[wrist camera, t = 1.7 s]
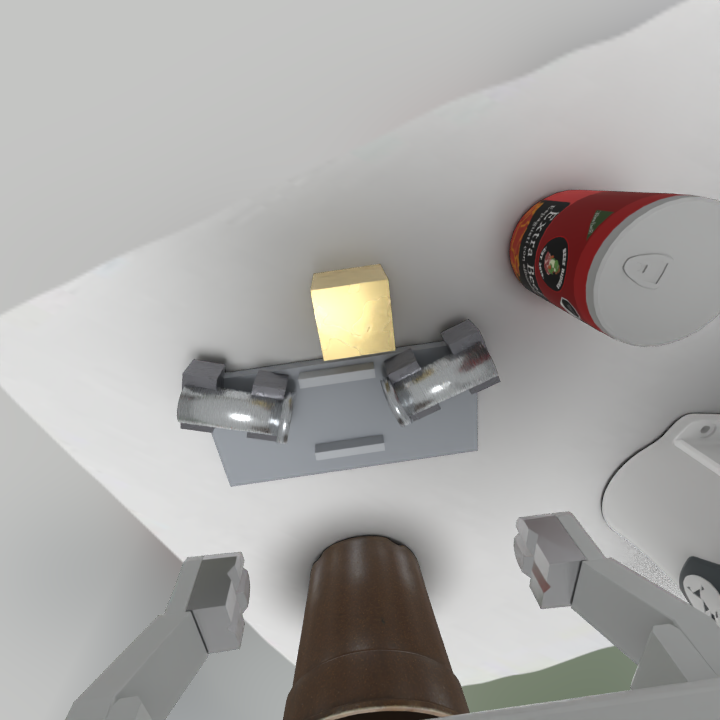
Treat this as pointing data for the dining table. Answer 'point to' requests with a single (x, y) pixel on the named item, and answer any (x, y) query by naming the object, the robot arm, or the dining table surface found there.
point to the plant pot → (371, 640)
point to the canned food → (624, 261)
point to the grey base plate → (345, 421)
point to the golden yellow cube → (353, 312)
